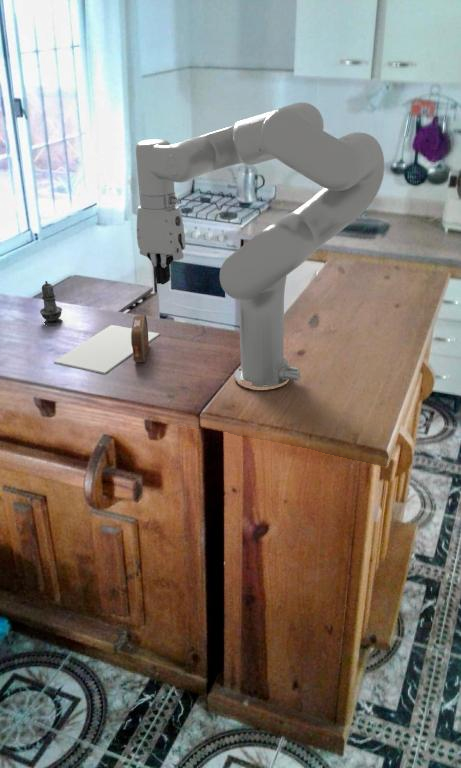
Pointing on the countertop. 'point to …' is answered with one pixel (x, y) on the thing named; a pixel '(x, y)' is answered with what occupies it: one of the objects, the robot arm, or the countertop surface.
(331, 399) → the countertop surface
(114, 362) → the felt mat
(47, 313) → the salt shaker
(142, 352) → the tin
